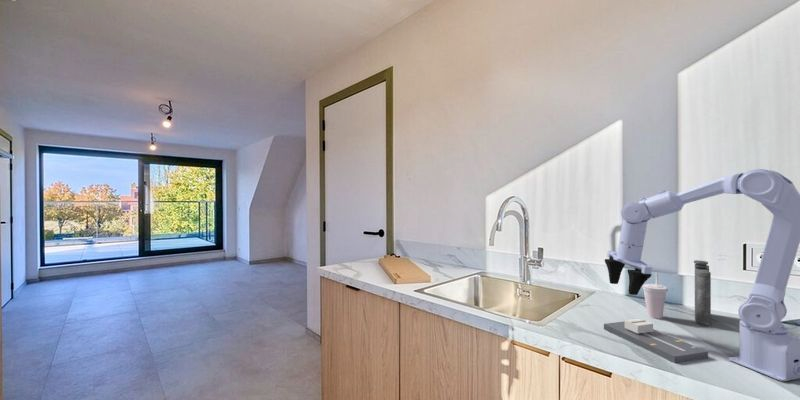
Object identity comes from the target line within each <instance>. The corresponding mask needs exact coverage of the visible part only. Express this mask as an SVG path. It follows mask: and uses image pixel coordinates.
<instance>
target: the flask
mask: <svg viewBox="0 0 800 400" xmlns="http://www.w3.org/2000/svg"><path fill="white" fill-rule="evenodd" d="M693 264H694V320H695V322H696V324H697V325H698V326H702V327H707V328H710V327H711V326H712V323H711V321H712V319H711V318H712V317H711V315H712V314H711V313H712V312H711V311H712V310H711V309H712V307H711V306H712V301H711V299H712V297H711V296H712V295H711V294H712V292H711V290H712V288H711V287H712V286H711V284H712V281H711V280H712V279H711V278H712V277H711V275H712V273H711V271H710V265H708V264H709V261H706V260H697V259H696V260H693Z"/></svg>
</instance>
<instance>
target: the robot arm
mask: <svg viewBox="0 0 800 400" xmlns="http://www.w3.org/2000/svg"><path fill="white" fill-rule="evenodd" d="M657 193H658V194H655V195H652V196H650V197H646V198H645V197H640V198H639V199H638V200H639V201H629V202H628V203H625V204H624V205H623V206H622V208H621V210H620V215H621V217H622V224H621V230H620V236H619V240H618V246H617V251H614V250H608V251H607V254H606V257H607V258H605V259H604V262H605V265H606V267H607V268H606V269H607V272H608V279H609V283H610V285H611V284H612V285H618V284H619V281H620V278H621V274H622V271H623V269H624V267H625V265H627V266H628V267H630V268H633V269H627V273H628V281H629V282H628V289H627V290H628V295H631V296H632V295H633V296H638V294H639V292H640V291H641V288H642V287H643V286H642V285H643V284H646V281H647V280H649V279H650V278H651V277H652V276H653V275H652V271H653V266H650V265H648V264H647V263H645V262H644V261H642V254H643V249H644V245H645V243H644V242H645V239H646V232H647V226H648V225H647V224H648V222H649V221H650V220H651V219H656V218H660V217H663V216H667V215H671V214H673V213H677V212H681V211H682V209H683V207H684V205H686V204H689V203H693V202H697V201H701V200H704V199H708V198H712V197H714V196H718V195H722V194H723V195H724V194H731V195H744V196H746V197H748V198H750V199H752V200H754V201H757V202H758V203H760V204H761V205H762V206H764V208H766V209H767V210H768V211H769V212H770V213H771V214H772V215H773V217H772V220H771V223H770V227H769V231H768V234H767V238H766V241H765V245H764V248H763V250H762V251H763V252H762V256H761V258H760V263H759V265H758V268H757V269H758V270H757V272H756V273H757V274H756V276H755V280H754V283H753V285H752V288H751V290H750V292H749V295H748V298H747V299H746V300H745V301H744V302H743V303H741V304H740V306H738V315H739V318H740V320H739V355H738V356H731V357H728V360H729V361H731V362H734V363H736V364H738V365H741V366H743V367H746V368H748V369H751V370H753V371H755V372H758V373H761V374H762V375H766V376H768V377H770V378H773V379H776V380H778V381H780V382H787V381H792V380H793V381H794V380H799V379H800V337H798V336H794V335H792V334H790V333H789V332H788V328H787V327H786V326H785V324H784V323H783V322H782V320H783V319H784V318H785V317H786V315H787V313H788V310H787V306H786V305H785V300H784V299H785V297H786V289H787V286H788V284H789V283H788V282H789V279H790V276H791V273H792V269H793V265H794V263H795V261H796V260H795V259H796V258H797V257H796V256H797V253H798V249H799V247H800V192H799V191H798V189H797V188H796V186H795V184H794V182H793V181H792V180H790V179H789V178H787V177H786V176H784V175H783V174H781V173H780V172H778V171H775V170H771V169H770V170H769V169H764V168H757V169H751V170H749V171H747V172H739V173H733V174H730V175H726V176H722V177H720V178H717V179H714V180H710V181H707V182H705V183H702V184H700V185H697V186H694V187H690V188H688V189H686V190H682V191H681V192H678V191H677V192H676V191H674V190H667V191H666V189H665V190H664V189H662V190H659V191H657Z"/></svg>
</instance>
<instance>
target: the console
mask: <svg viewBox="0 0 800 400" xmlns="http://www.w3.org/2000/svg"><path fill="white" fill-rule="evenodd" d="M603 329H604V330H605V331H607V332H609V333H612V334H613V335H616V337H617V336H618V337H619V338H622V339H624V340H625V341H628V342H630V343H632V344H634V345H636V346H639V347H640V348H643V349H644V350H647V351H649V352H651V353H653V354H655V355H657V356H660V357H661V358H664V359H666V360H667V361H670V362H671V363H674V364H679V363H681V362H684V363H685V362H690V361H697V360H703V359H708V358H709V351H708V350H705V349H703V348H701V347H699V346H695V345H692V344H690V343H689V342H686V341H683V340H681V339H678V338H677V337H674V336H671V335H668V334H666V333H664V332H662V331H658V330H656V329H655V328H653V332H647V333H639V334H637V333H635V332H633V331H631V330H628V329H626V328H625V320H624V321H616V322H608V323H603Z"/></svg>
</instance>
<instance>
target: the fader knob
mask: <svg viewBox="0 0 800 400" xmlns="http://www.w3.org/2000/svg"><path fill="white" fill-rule="evenodd" d="M624 321H625V328H626V329H628V330H631V331H633V332H635V333H637V334H639V333H647V332H653V329H654V324H653V323H652V322H649V321H647V320H645V319H642V318H640V317H639V318H631V319H624Z"/></svg>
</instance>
